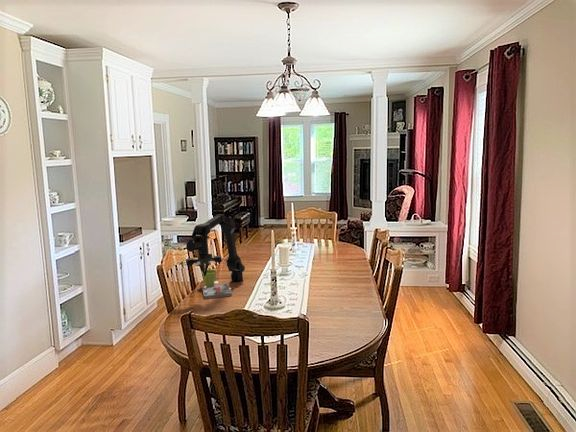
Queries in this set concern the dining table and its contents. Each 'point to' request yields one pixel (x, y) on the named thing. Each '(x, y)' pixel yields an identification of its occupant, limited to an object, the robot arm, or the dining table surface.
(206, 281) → the plant pot
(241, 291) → the dining table surface
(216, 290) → the fader red
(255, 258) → the dining table surface
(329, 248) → the dining table surface
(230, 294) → the mixing board
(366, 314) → the dining table surface
